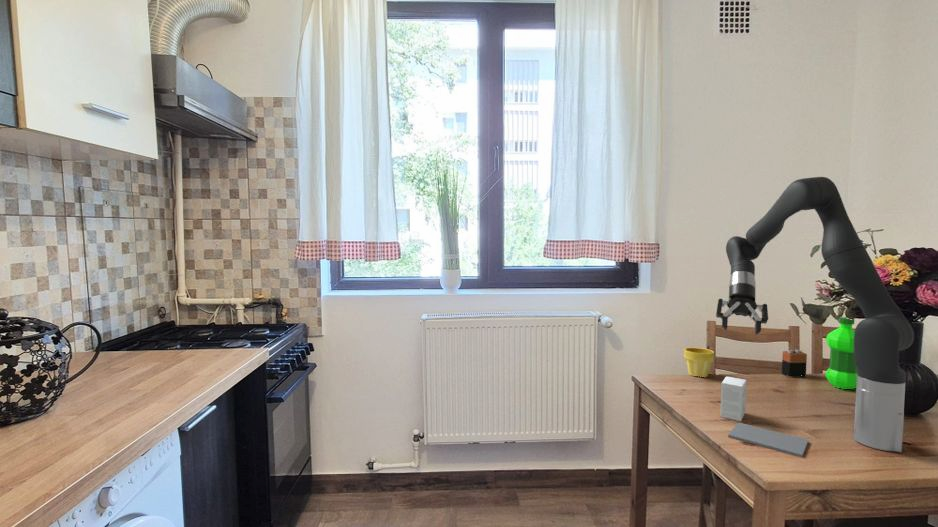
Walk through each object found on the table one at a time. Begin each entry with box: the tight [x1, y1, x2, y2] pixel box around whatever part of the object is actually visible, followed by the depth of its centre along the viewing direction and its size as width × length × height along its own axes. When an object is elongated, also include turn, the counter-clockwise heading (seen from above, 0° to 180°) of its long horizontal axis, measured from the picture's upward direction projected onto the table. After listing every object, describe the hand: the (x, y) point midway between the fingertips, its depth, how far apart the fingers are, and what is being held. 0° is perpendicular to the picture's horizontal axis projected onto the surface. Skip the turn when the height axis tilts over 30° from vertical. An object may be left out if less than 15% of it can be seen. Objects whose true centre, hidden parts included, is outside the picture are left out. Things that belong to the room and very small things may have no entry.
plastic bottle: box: [825, 316, 857, 390], centre depth 158 cm, size 10×10×25 cm
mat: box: [727, 422, 809, 458], centre depth 118 cm, size 16×11×1 cm
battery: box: [781, 349, 808, 377], centre depth 172 cm, size 4×7×10 cm, turn 93°
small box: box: [719, 376, 747, 422], centre depth 134 cm, size 8×6×10 cm
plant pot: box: [683, 346, 715, 378], centre depth 173 cm, size 10×10×10 cm
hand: (741, 331), depth 142 cm, fingers open, 8 cm apart
